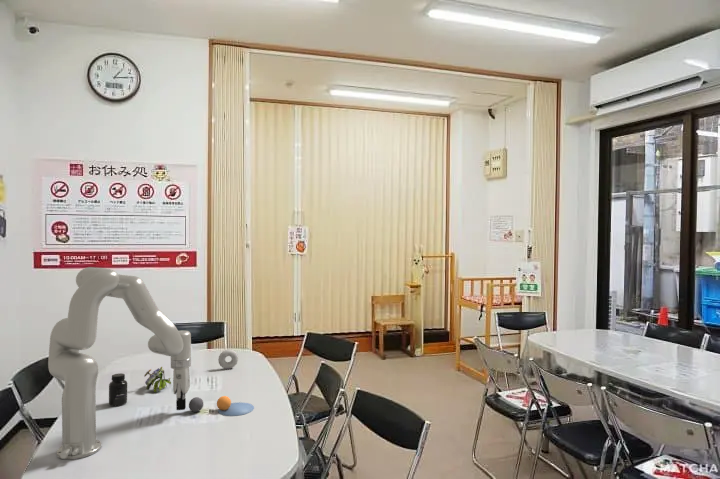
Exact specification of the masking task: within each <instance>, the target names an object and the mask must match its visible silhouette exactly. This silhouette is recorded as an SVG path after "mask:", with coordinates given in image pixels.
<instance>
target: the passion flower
mask: <svg viewBox="0 0 720 479" xmlns="http://www.w3.org/2000/svg"><path fill="white" fill-rule="evenodd" d="M151 371H152V368H150V369H148V370H147V371H146V372H145V374H144V378H145V377H146V376H148V375H149V377H148V378H147V379H146V380H145V381H144V383H145V385H146V387H145V389H146V390H150V389H151V386H153V393H155V394H157V392H158V391H159V392H160V391H161V390H163V389H165V388H168V387H167V384H170V385H171V384H172V382H171V377H168V378H165V370H164V368H163V366H161V367H159V368H157V369H155V370H154V371H153V372H151ZM150 372H151V373H150Z"/></svg>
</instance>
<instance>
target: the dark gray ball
mask: <svg viewBox="0 0 720 479" xmlns="http://www.w3.org/2000/svg"><path fill="white" fill-rule="evenodd" d="M203 407H204V401H203V399H202V398H201V397H198V396H197V397H193V398H192V399H190V401H189V403H188V408H189V410H190V411H192V412H194V413H197V412H198V413H199V412H201V410H202V409H203Z"/></svg>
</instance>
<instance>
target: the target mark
mask: <svg viewBox="0 0 720 479" xmlns="http://www.w3.org/2000/svg"><path fill="white" fill-rule="evenodd" d="M217 409H218V410H217V412H218V413H219V414H220V415H222V416H226V417H238V416H243V415H247V414H249V413H251V412H253V411H254V409H255V405H254V404H251V403H249V402H241V401H240V402H231V405H230V407H229V408H228V409H227V410H224V411H223V410H220V409H219V408H217Z"/></svg>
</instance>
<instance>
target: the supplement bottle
mask: <svg viewBox="0 0 720 479" xmlns="http://www.w3.org/2000/svg"><path fill="white" fill-rule="evenodd" d="M125 378H126V375H125V373H115V374H112V375H111V381H110V382H109V384H108V405H109V406H111V407H120V406H124V405H126V404H127V402H128V381H127V380H126V379H125Z"/></svg>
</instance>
